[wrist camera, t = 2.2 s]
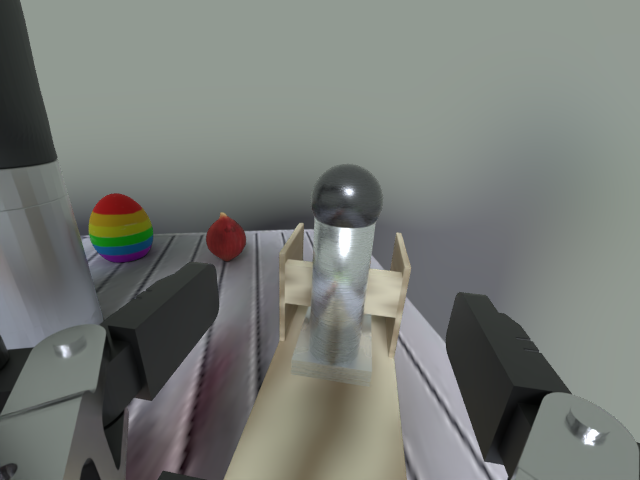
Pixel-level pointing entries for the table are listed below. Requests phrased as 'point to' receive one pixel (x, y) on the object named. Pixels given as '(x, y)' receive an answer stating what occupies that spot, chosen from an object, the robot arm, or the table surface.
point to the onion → (226, 238)
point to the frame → (327, 391)
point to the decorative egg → (120, 229)
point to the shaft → (340, 278)
